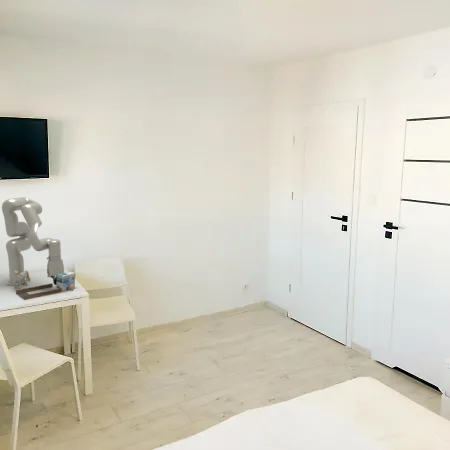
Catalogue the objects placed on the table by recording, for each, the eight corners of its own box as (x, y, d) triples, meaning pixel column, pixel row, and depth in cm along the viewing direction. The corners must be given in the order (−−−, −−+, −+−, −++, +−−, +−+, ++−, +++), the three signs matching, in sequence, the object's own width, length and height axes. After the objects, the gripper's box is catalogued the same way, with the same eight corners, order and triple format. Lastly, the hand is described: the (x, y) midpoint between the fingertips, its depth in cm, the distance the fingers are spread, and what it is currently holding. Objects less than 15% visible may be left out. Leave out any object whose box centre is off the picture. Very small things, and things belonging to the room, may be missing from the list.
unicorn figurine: (9, 292, 302) (8, 272, 300) (20, 283, 321) (19, 264, 319) (20, 292, 302) (19, 272, 300) (31, 283, 322) (30, 264, 319)
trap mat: (16, 294, 297) (16, 294, 297) (26, 292, 301) (26, 292, 301) (23, 299, 288) (23, 298, 288) (33, 297, 292) (33, 296, 292)
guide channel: (15, 293, 298) (15, 290, 298) (52, 286, 314) (51, 283, 314) (24, 299, 287) (24, 295, 287) (61, 292, 303) (61, 288, 303)
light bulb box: (63, 292, 304) (63, 276, 302) (55, 289, 307) (55, 274, 305) (75, 287, 313) (75, 272, 311) (68, 285, 316) (68, 270, 314)
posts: (59, 284, 319) (59, 279, 319) (62, 284, 321) (62, 278, 320) (71, 290, 306) (70, 285, 306) (74, 290, 308) (73, 284, 307)
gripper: (46, 260, 297) (47, 288, 300) (68, 257, 307) (69, 283, 311) (41, 258, 303) (42, 285, 306) (63, 255, 313) (64, 281, 316)
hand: (56, 284), depth 308 cm, fingers closed
